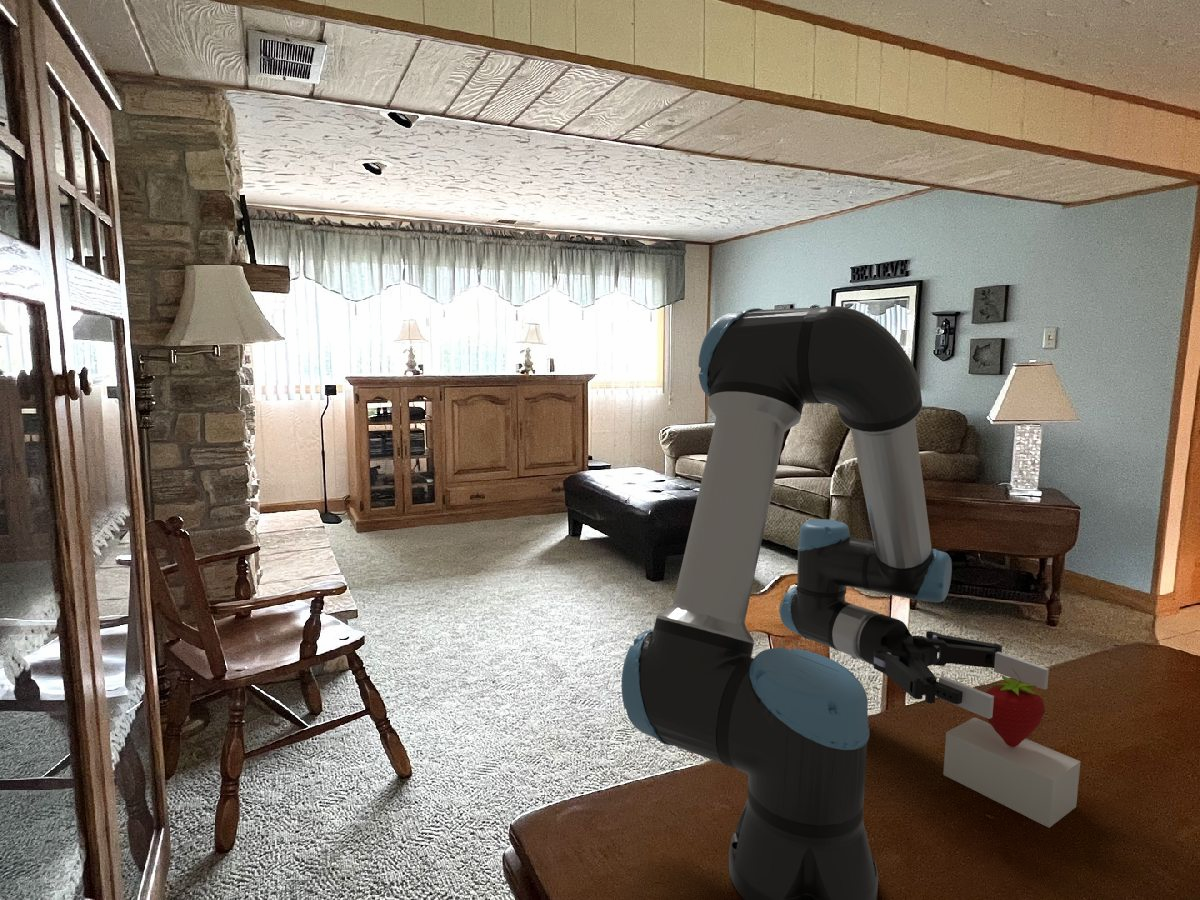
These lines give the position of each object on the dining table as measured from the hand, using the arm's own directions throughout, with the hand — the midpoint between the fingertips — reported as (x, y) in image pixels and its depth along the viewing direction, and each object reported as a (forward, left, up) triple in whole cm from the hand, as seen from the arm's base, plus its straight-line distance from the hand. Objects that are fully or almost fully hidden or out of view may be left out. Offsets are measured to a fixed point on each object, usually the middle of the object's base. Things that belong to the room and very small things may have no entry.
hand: (1020, 693), depth 89 cm
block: (0, +1, -13) cm, 13 cm away
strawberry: (0, +1, -7) cm, 8 cm away
